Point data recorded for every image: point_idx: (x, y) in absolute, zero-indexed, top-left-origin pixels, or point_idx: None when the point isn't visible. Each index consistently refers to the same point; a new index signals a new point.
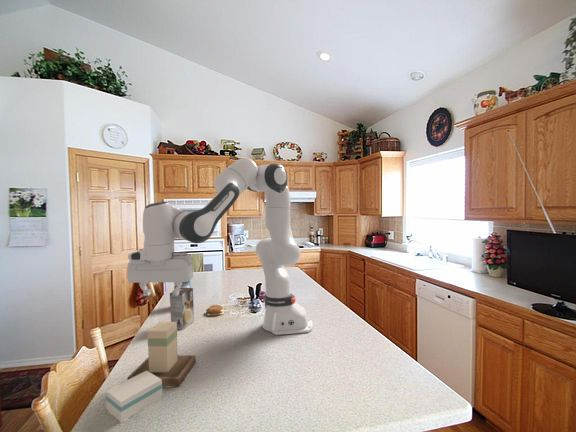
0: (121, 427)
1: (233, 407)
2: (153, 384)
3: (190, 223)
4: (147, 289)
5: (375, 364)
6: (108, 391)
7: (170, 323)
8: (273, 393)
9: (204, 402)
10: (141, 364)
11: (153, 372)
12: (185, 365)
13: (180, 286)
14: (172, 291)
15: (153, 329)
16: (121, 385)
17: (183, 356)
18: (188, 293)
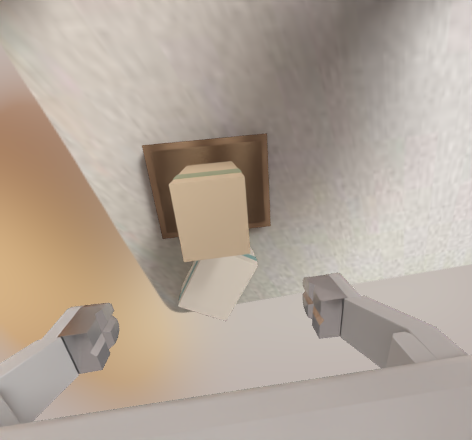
0: None
1: (371, 249)
2: (250, 278)
3: None
4: (65, 349)
5: None
6: (183, 306)
7: (227, 193)
8: (432, 211)
9: (325, 247)
10: (154, 191)
11: None
12: (262, 180)
13: (395, 317)
14: (319, 333)
15: (195, 248)
16: (193, 291)
17: (237, 142)
18: None
